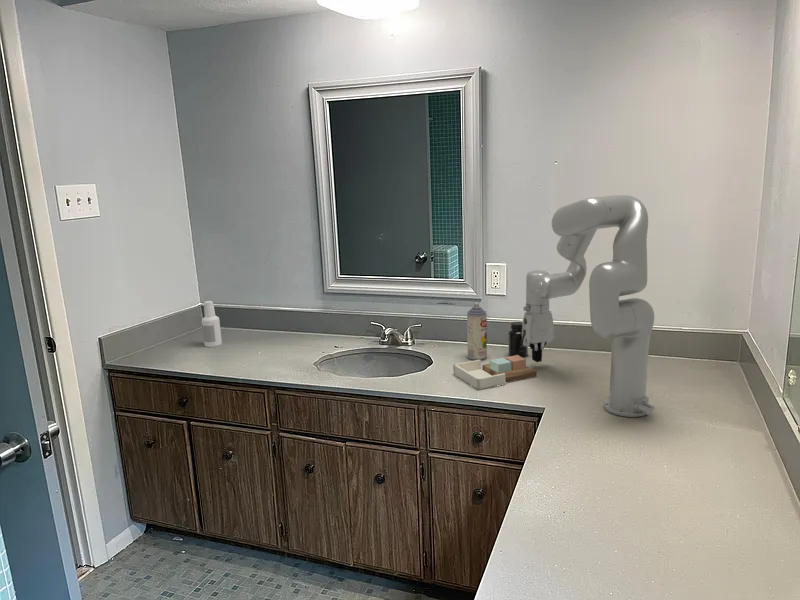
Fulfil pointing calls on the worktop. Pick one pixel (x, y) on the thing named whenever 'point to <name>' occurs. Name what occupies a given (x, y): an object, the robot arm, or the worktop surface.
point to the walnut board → (512, 373)
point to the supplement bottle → (516, 340)
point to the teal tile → (500, 365)
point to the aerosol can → (477, 333)
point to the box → (477, 375)
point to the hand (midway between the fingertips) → (536, 360)
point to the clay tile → (516, 362)
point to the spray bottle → (211, 326)
